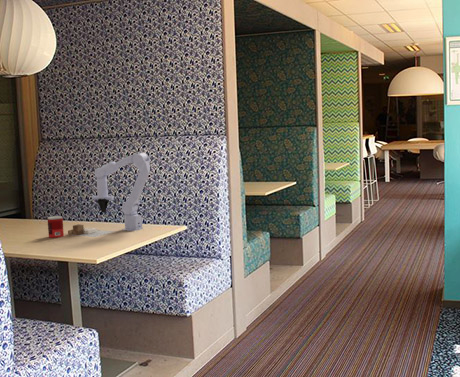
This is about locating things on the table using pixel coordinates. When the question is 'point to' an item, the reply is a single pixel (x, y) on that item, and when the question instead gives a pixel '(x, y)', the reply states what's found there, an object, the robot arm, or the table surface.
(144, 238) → the table surface
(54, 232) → the canned food
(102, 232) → the mat
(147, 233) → the table surface
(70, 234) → the rail
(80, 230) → the block
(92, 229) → the tile
